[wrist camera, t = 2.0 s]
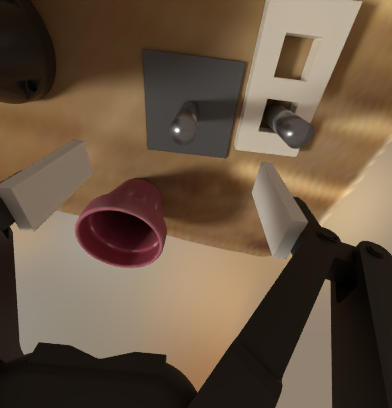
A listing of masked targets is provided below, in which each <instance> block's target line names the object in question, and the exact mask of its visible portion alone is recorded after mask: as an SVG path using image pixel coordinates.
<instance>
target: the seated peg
mask: <svg viewBox="0 0 392 408" xmlns="http://www.w3.org/2000/svg"><path fill="white" fill-rule="evenodd" d="M263 118H264V120H265V122H266V123H267V124H268V125H269V126H270V127H271V128H272V129H273V130H274V131H275V132H276V133H277V134H278V135H279V137H280V138H281V139H282V140H283V141H284V142H285V143H286V144H287V145H288V146H289V147H290V148H293V149H299V148H302V147H304V146H306V145H307V144H308V143H309V142H310V141H311V140H312V138H313V135H314V128H313V126H312V125H311V124H310V123H309V122H307V121H305V120H304V119H302V118H301V117H299V116H297V115H296V114H294V113H293V112H291V111H289V110H288V109H286V108H285V107H283V106H281V105H280V104H278V103H273V104H270V105H269V106H268V107H267V108H266V109H265V111H264V114H263Z"/></svg>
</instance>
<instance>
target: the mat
mask: <svg viewBox="0 0 392 408" xmlns="http://www.w3.org/2000/svg"><path fill="white" fill-rule="evenodd" d="M143 66H144V87H145V108H146V129H147V149H150V150H158V151H167V152H176V153H184V154H193V155H202V156H210V157H219V158H226V155H227V150H228V145H229V140H230V135H231V130H232V125H233V120H234V115H235V110H236V105H237V100H238V95H239V91H240V86H241V81H242V76H243V71H244V66H245V62H240V61H232V60H224V59H216V58H209V57H201V56H193V55H185V54H177V53H169V52H161V51H153V50H145V49H143ZM186 101H193V102H195V103H196V104H197V105H198V107H199V110H200V113H199V119H198V125H197V131H196V137H195V139H194V141H193V142H192V143H190V144H189V145H185V146H182V145H178V144H176V143H175V142H174V141H173V140H172V139H171V137H170V133H169V129H170V126H171V124H172V122H173V120H174V118H175V117H176V115H177V113H178V111H179V110H180V108H181V106H182V105H183V103H184V102H186Z"/></svg>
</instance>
